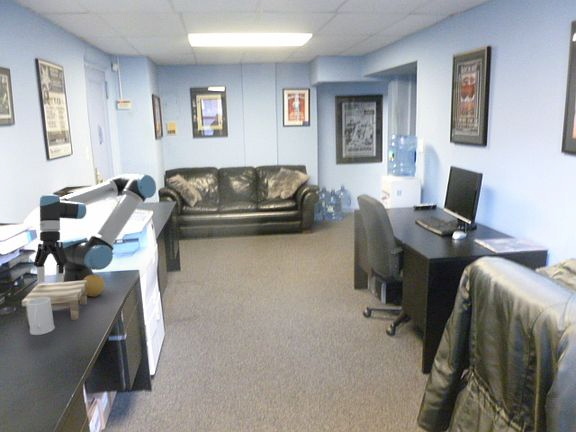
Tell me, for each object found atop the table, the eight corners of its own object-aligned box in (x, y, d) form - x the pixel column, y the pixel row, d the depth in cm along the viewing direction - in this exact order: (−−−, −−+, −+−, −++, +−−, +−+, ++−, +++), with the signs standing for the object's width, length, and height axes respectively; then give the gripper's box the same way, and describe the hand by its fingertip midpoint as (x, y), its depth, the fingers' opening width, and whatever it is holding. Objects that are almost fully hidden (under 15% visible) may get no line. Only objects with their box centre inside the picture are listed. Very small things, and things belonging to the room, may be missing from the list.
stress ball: (108, 295, 213) (103, 278, 219) (104, 285, 206) (99, 267, 211) (85, 302, 210) (81, 284, 215) (81, 292, 202) (76, 273, 207)
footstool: (40, 306, 200) (37, 284, 198) (89, 301, 204) (87, 280, 202) (25, 325, 181) (21, 301, 179) (79, 320, 185) (76, 296, 183)
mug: (48, 337, 170) (44, 307, 168) (23, 340, 169) (18, 309, 166) (57, 324, 182) (53, 295, 179) (34, 326, 180) (30, 297, 178)
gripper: (24, 233, 199) (24, 283, 196) (59, 228, 186) (59, 281, 184) (41, 233, 205) (41, 282, 203) (76, 229, 192) (76, 280, 190)
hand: (50, 282), depth 193 cm, fingers open, 13 cm apart
